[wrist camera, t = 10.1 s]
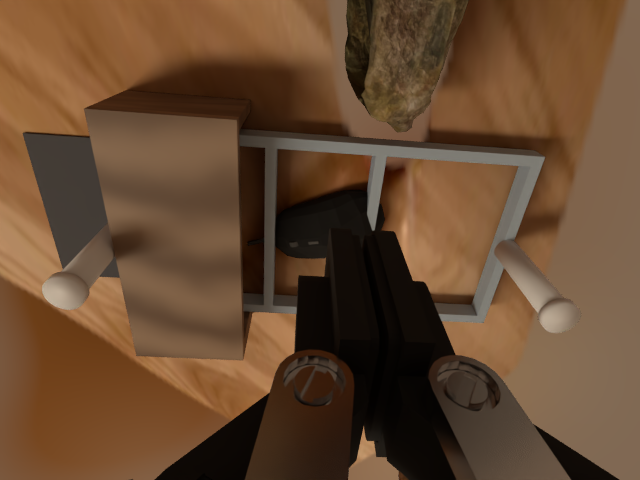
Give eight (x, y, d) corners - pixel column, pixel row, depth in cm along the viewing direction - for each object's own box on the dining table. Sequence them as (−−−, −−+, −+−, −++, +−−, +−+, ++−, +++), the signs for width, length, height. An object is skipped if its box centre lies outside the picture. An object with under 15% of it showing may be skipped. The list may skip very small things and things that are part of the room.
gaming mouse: (237, 217, 42) (229, 235, 38) (375, 180, 40) (380, 195, 36) (258, 266, 45) (253, 287, 41) (388, 234, 43) (394, 252, 39)
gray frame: (95, 118, 36) (-1, 166, 25) (544, 151, 38) (638, 208, 27) (130, 294, 46) (73, 383, 35) (485, 312, 48) (536, 401, 37)
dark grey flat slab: (23, 132, 37) (22, 133, 37) (100, 138, 37) (100, 138, 37) (65, 273, 45) (64, 274, 45) (128, 276, 45) (128, 277, 45)
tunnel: (125, 90, 35) (84, 108, 29) (250, 100, 36) (236, 120, 29) (160, 308, 48) (136, 355, 41) (252, 313, 48) (243, 360, 42)
